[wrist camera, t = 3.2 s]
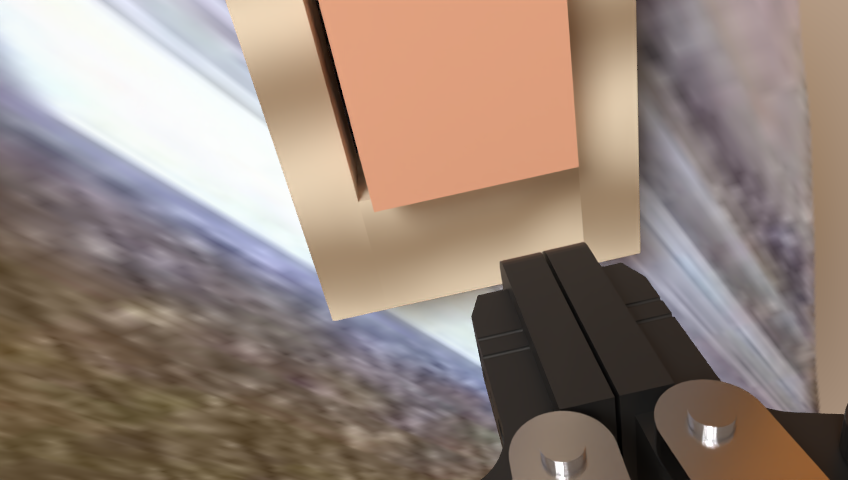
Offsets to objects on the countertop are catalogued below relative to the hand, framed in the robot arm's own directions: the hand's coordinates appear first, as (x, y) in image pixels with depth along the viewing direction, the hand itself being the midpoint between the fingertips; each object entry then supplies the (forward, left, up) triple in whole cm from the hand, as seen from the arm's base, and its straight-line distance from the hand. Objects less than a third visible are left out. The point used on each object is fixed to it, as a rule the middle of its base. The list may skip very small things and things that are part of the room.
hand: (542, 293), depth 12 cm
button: (0, 0, -16) cm, 16 cm away
